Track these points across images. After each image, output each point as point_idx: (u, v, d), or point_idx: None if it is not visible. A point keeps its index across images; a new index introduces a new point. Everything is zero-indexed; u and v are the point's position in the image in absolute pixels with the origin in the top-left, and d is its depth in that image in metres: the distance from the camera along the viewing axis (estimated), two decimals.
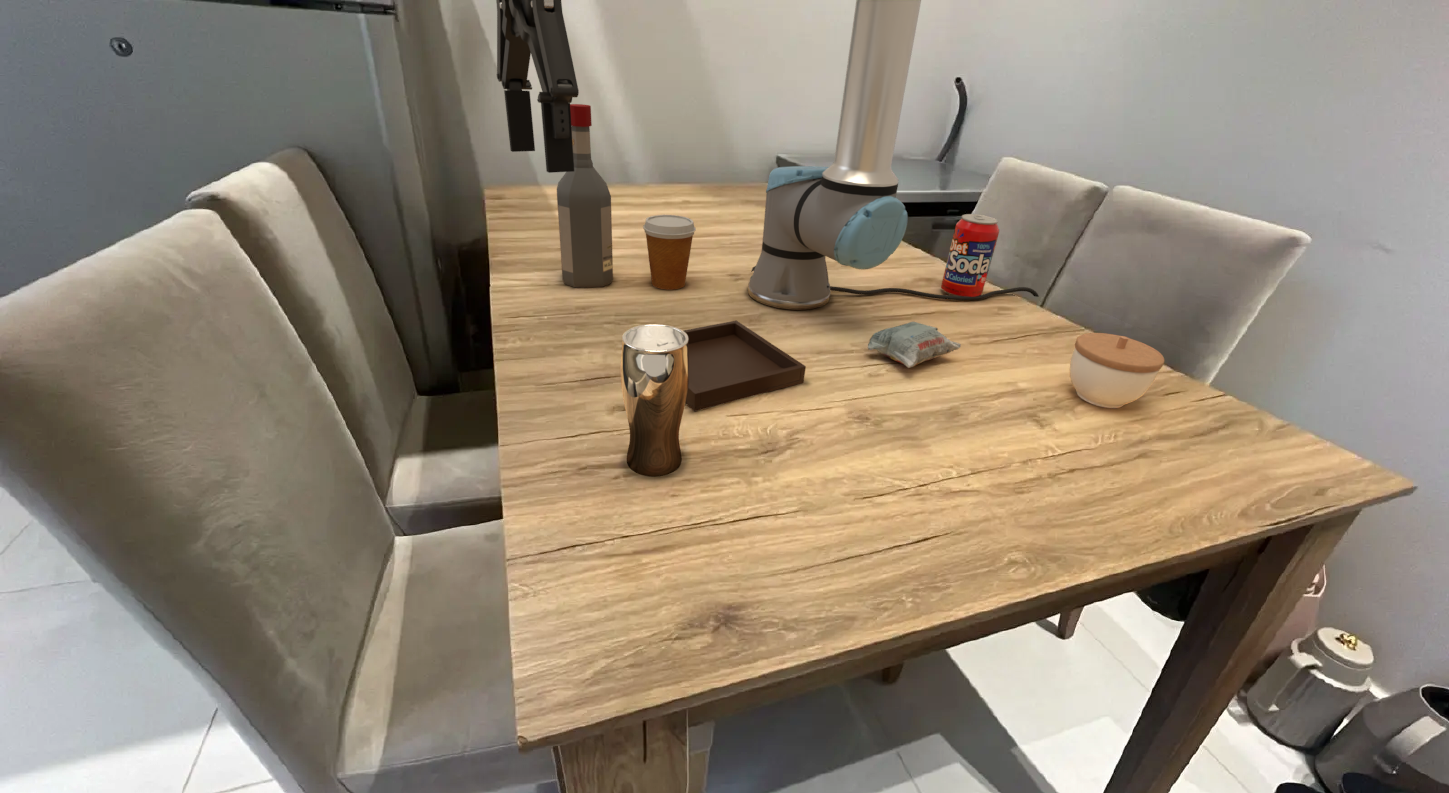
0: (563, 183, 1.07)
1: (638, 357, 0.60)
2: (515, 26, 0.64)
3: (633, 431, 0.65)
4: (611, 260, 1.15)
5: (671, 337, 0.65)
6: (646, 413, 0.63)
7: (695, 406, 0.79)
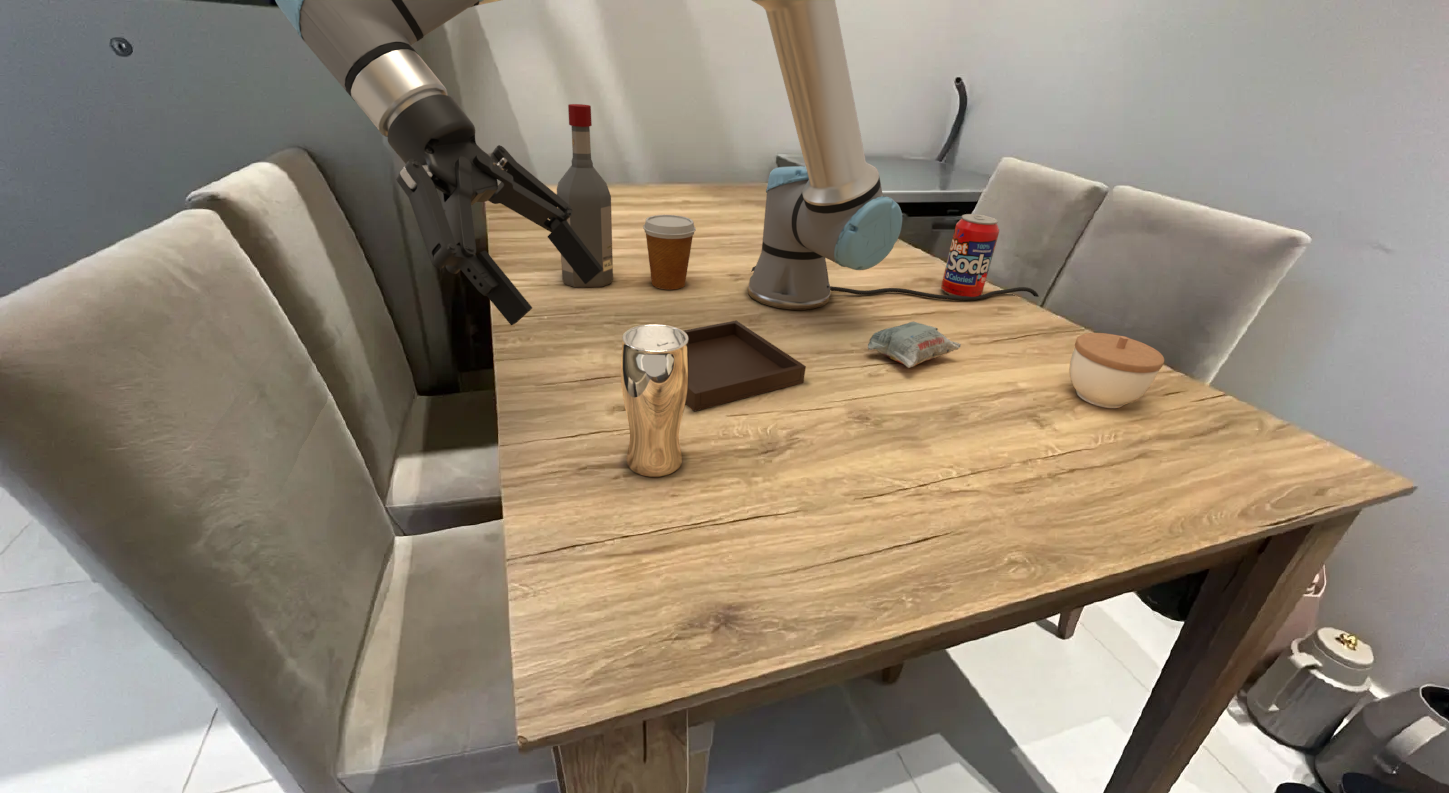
0: (563, 183, 1.07)
1: (638, 357, 0.60)
2: None
3: (633, 431, 0.65)
4: (611, 260, 1.15)
5: (671, 337, 0.65)
6: (646, 413, 0.63)
7: (695, 406, 0.79)
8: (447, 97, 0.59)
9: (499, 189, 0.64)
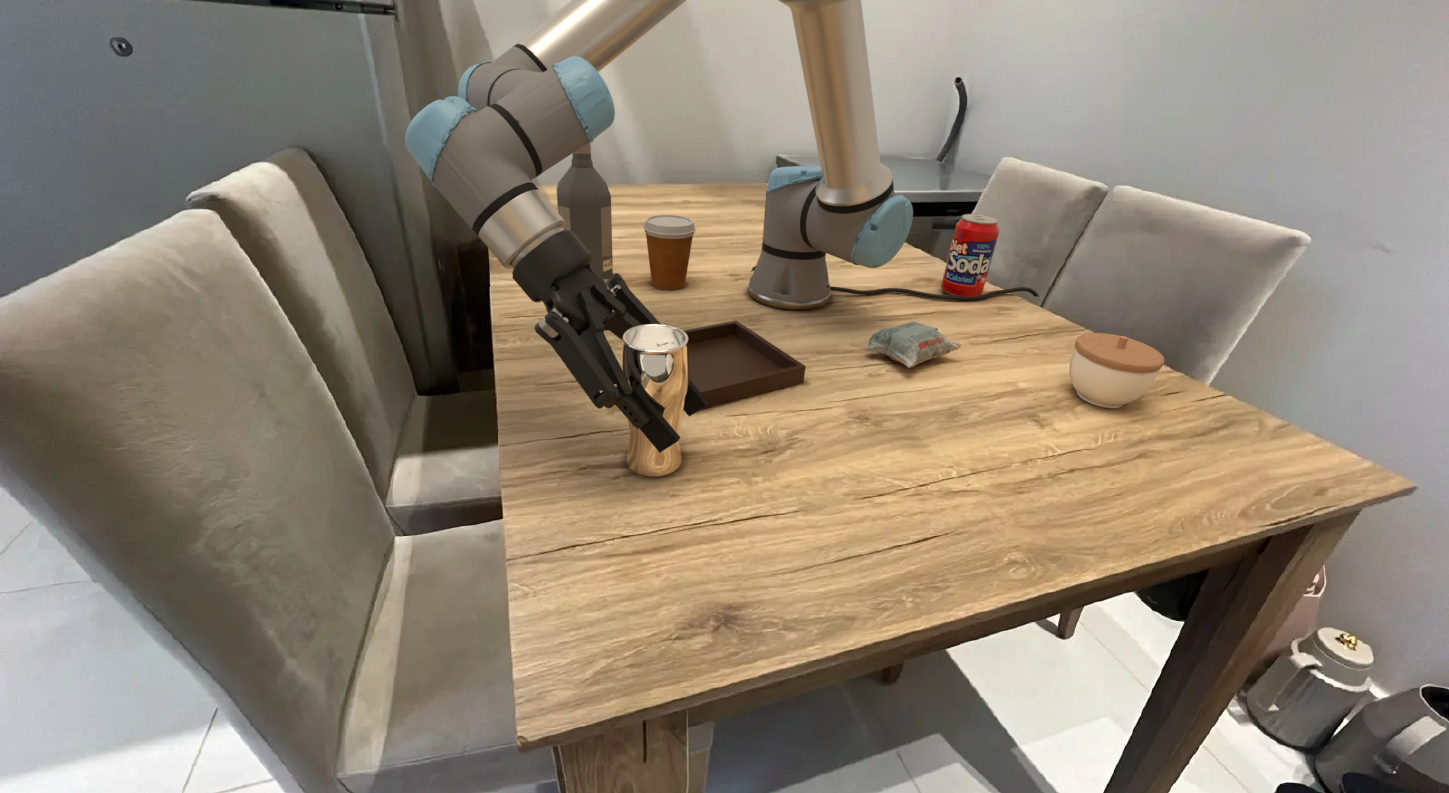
0: (563, 183, 1.07)
1: (638, 357, 0.60)
2: None
3: (633, 431, 0.65)
4: (611, 260, 1.15)
5: (671, 337, 0.65)
6: None
7: None
8: (569, 233, 0.61)
9: (610, 317, 0.65)
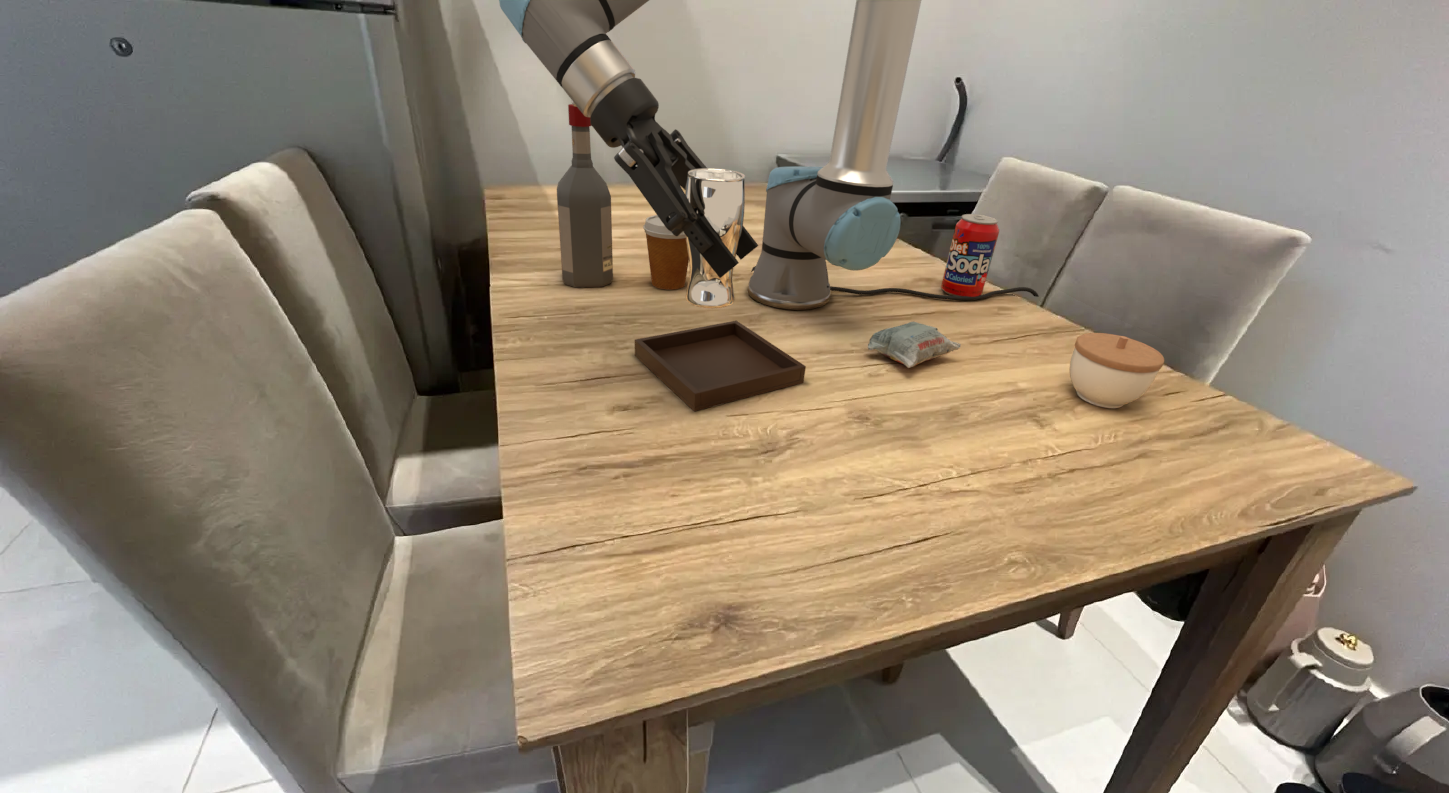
0: (563, 183, 1.07)
1: (703, 186, 0.68)
2: None
3: (694, 265, 0.74)
4: (611, 260, 1.15)
5: None
6: None
7: (695, 406, 0.79)
8: (640, 80, 0.69)
9: (673, 164, 0.74)
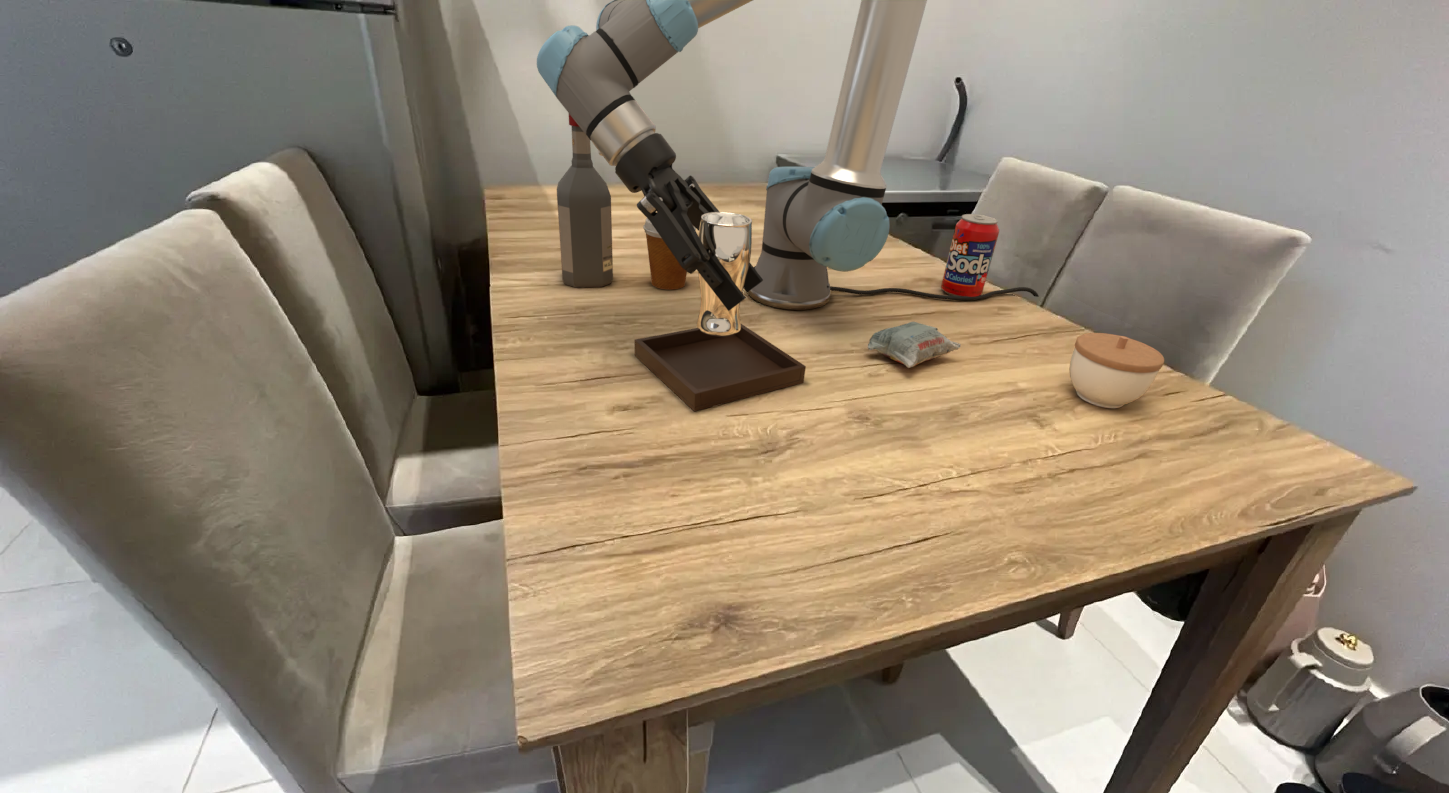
0: (563, 183, 1.07)
1: (715, 230, 0.77)
2: None
3: (705, 297, 0.83)
4: (611, 260, 1.15)
5: (736, 223, 0.82)
6: None
7: (695, 406, 0.79)
8: (660, 135, 0.78)
9: (688, 207, 0.82)
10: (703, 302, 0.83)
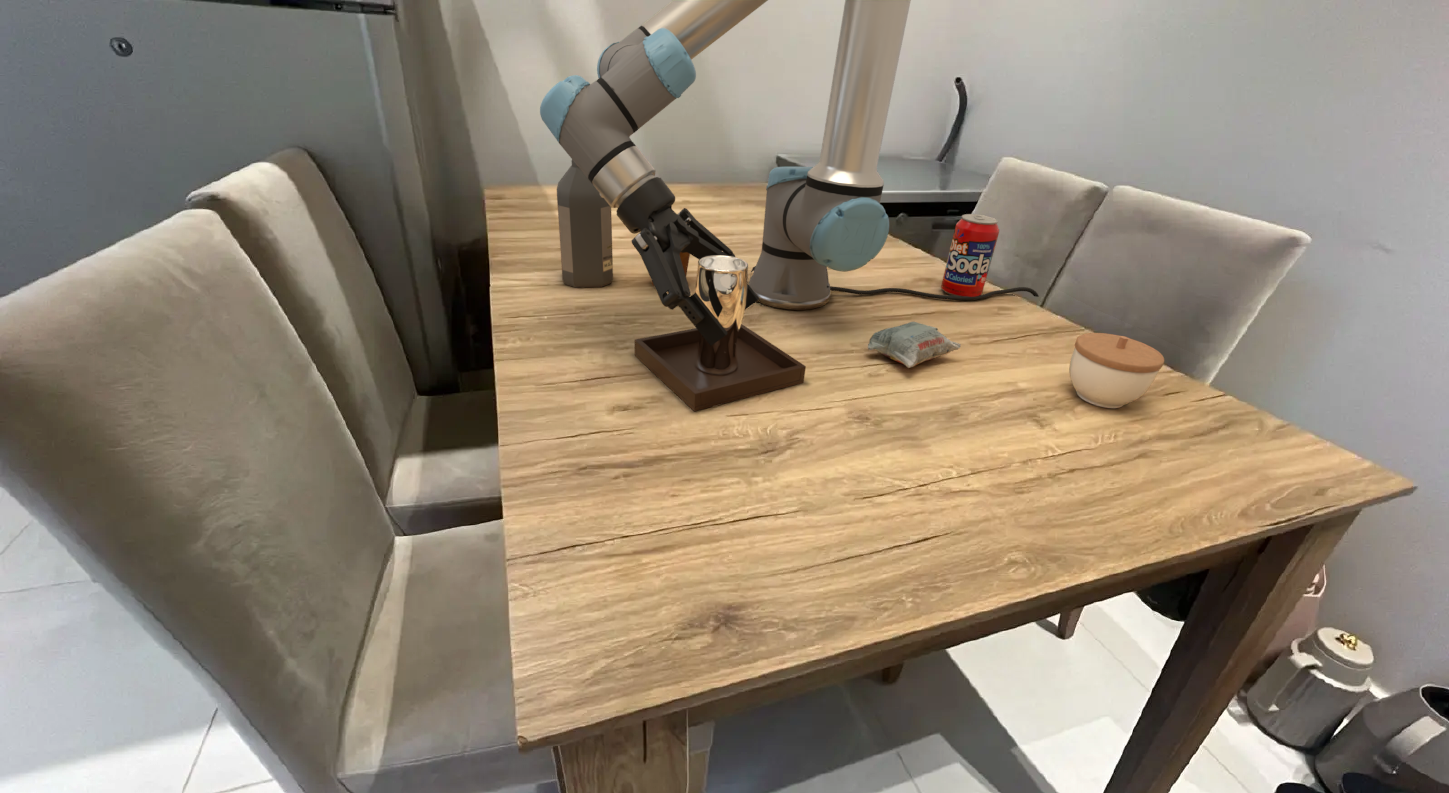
0: (563, 183, 1.07)
1: (712, 276, 0.80)
2: None
3: (703, 338, 0.85)
4: (611, 260, 1.15)
5: (732, 265, 0.85)
6: None
7: (695, 406, 0.79)
8: (660, 179, 0.80)
9: None
10: (701, 342, 0.86)
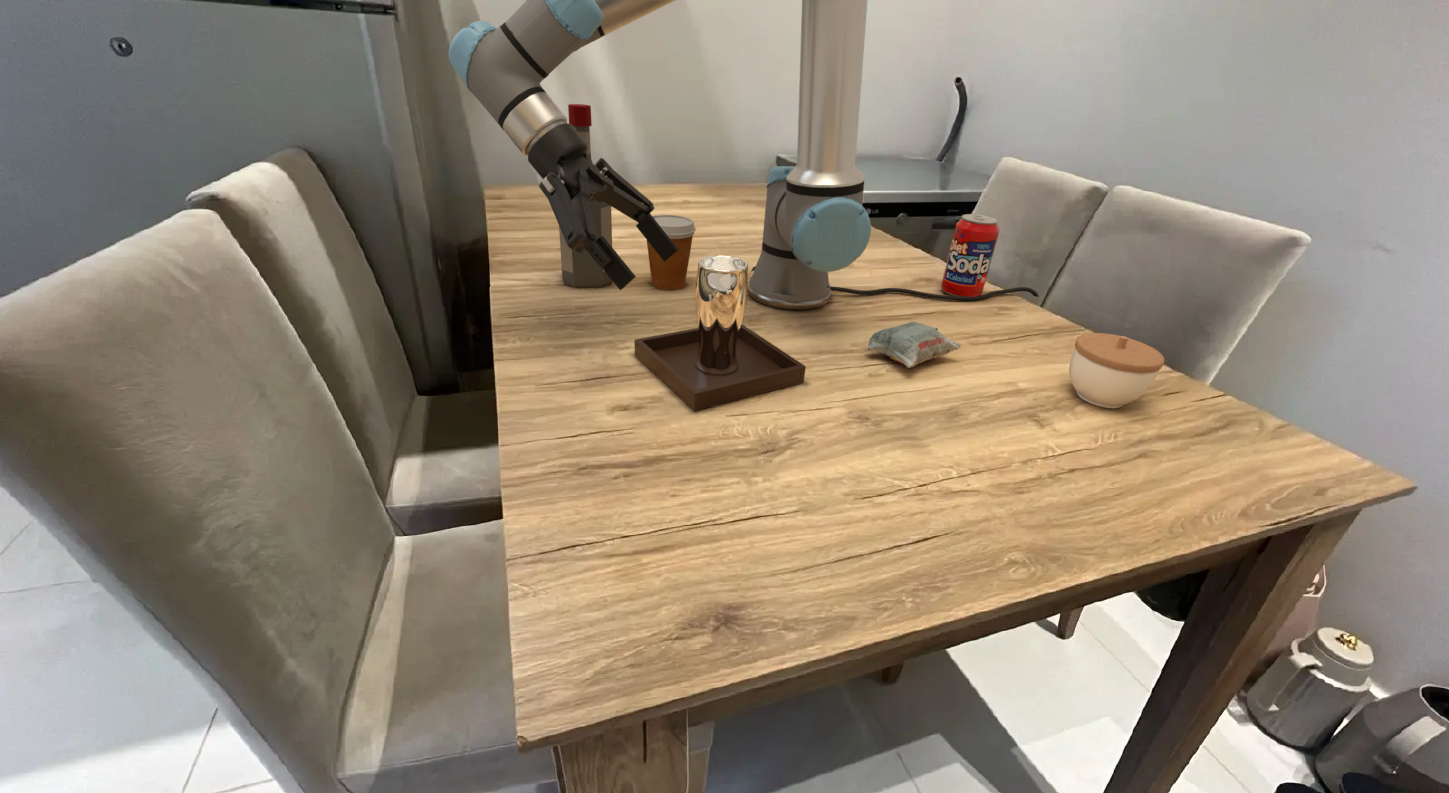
0: None
1: (712, 276, 0.80)
2: None
3: (703, 338, 0.85)
4: None
5: (732, 265, 0.85)
6: (715, 321, 0.83)
7: (695, 406, 0.79)
8: (570, 125, 0.81)
9: (603, 191, 0.87)
10: (701, 342, 0.86)
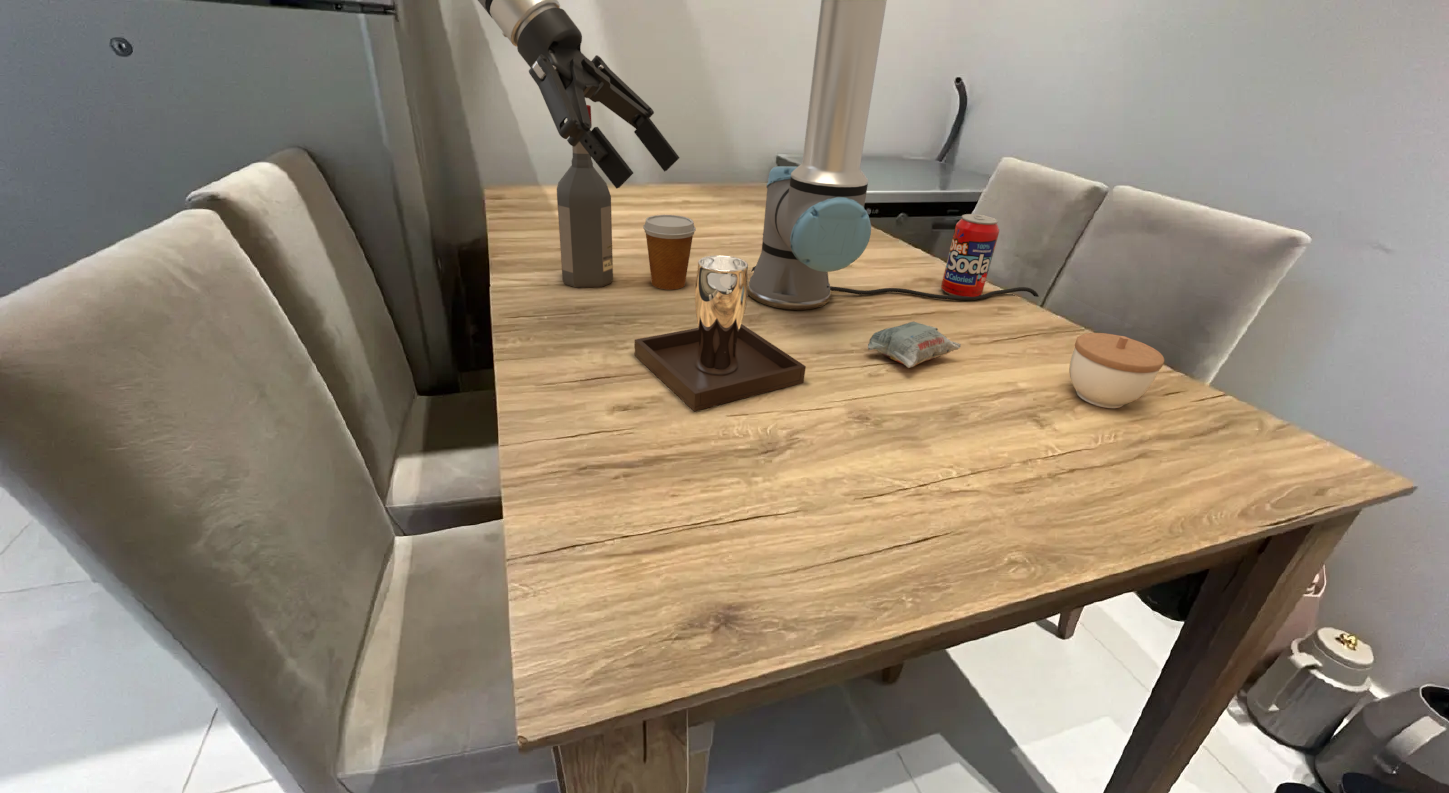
0: (563, 183, 1.07)
1: (712, 276, 0.80)
2: None
3: (703, 338, 0.85)
4: (611, 260, 1.15)
5: (732, 266, 0.85)
6: (715, 321, 0.83)
7: (695, 406, 0.79)
8: (563, 10, 0.75)
9: (599, 89, 0.80)
10: (701, 342, 0.86)
